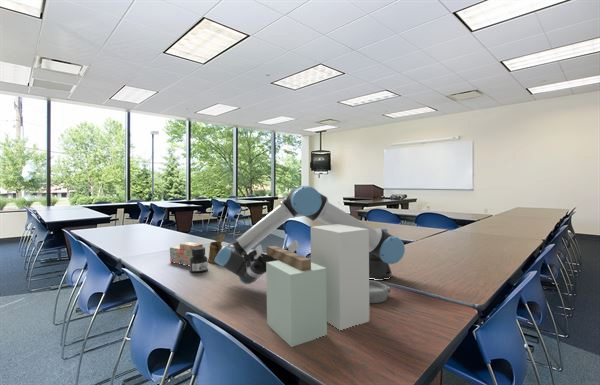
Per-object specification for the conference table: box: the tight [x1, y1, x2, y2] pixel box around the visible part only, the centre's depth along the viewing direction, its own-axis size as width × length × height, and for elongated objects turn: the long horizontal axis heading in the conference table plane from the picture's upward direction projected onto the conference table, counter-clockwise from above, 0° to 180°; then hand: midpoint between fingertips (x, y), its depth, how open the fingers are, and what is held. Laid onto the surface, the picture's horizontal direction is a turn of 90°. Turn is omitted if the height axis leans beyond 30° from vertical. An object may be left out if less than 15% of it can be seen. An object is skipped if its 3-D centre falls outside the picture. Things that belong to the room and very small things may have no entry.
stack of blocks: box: [169, 241, 204, 265], centre depth 172 cm, size 21×6×12 cm, turn 59°
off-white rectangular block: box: [310, 224, 370, 331], centre depth 100 cm, size 16×12×30 cm
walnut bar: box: [266, 245, 311, 271], centre depth 96 cm, size 24×3×3 cm, turn 31°
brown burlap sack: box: [207, 232, 226, 264], centre depth 176 cm, size 9×14×18 cm, turn 41°
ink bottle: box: [189, 246, 209, 274], centre depth 158 cm, size 10×9×12 cm
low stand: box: [265, 260, 328, 348], centre depth 92 cm, size 16×12×20 cm
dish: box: [369, 280, 392, 304], centre depth 118 cm, size 14×14×5 cm
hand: (279, 246), depth 100 cm, fingers open, 13 cm apart
